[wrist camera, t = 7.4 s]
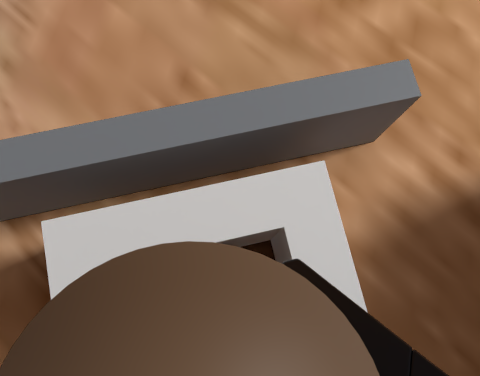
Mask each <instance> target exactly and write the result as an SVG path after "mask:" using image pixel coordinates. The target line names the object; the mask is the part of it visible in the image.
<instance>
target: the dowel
mask: <svg viewBox="0 0 480 376" xmlns="http://www.w3.org/2000/svg"><path fill="white" fill-rule="evenodd" d="M0 376H380V375H379V373H378V371H377V368H376V366H375V363H374V361H373V359H372V357H371V355H370V354H369V352H368V350H367V348H366V347H365V345H364V343H363V341H362V339H361V338H360V336H359V334H358V333H357V332H356V330H355V329H354V328H353V326H352V325H351V324H350V322H349V321H348V319H347V318H346V317H345V315H344V314H343V313H342V312H341V311H340V310H339V309H338V308H337V306H336V305H335V304H334V303H333V302H332V301H331V300H330V299H329V298H328V297H327V296H326V295H325V294H324V293H323V292H322V291H320V290H319V289H318V288H317V287H316V286H314V285H313V284H312V283H311V282H309V281H308V280H307V279H306V278H305V277H303V276H301V275H300V274H298V273H297V272H295V271H293V270H292V269H290V268H289V267H287V266H285V265H284V264H282V263H280V262H277V261H275V260H273V259H271V258H269V257H267V256H264V255H262V254H260V253H257V252H253V251H250V250H247V249H244V248H241V247H237V246H232V245H226V244H220V243H214V242H194V241H185V242H174V243H163V244H158V245H154V246H150V247H145V248H141V249H137V250H134V251H131V252H129V253H126V254H123V255H120V256H118V257H115V258H113V259H111V260H109V261H107V262H105V263H103V264H101V265H99V266H97V267H95V268H93V269H91V270H89V271H88V272H87V273H85V274H84V275H82V276H81V277H79V278H78V279H76V280H75V281H73V282H72V283H70V284H69V285H68V286H66V287H65V288H64V289H63V290H62V291H61V292H59V293H58V294H57V295H56V296H55V297H54V298H53V299H51V300H50V301H49V302H48V303H47V304H46V305H45V306H44V307H43V308H42V309H41V311H40V312H39V313H38V314H37V315H36V316H35V317H34V318H33V319H32V321H31V322H30V323H29V324H28V325H27V326H26V328H25V329H24V331H23V332H22V333H21V335H20V336H19V338H18V339H17V340H16V342H15V343H14V345H13V346H12V347H11V349H10V351H9V353H8V355H7V356H6V358H5V360H4V362H3V364H2V365H1V367H0Z"/></svg>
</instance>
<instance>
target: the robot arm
mask: <svg viewBox="0 0 480 376" xmlns="http://www.w3.org/2000/svg"><path fill="white" fill-rule="evenodd" d="M282 264H284V265H285V266H287V267H289V268H290V269H292V270H293V271H295V272H297V273H298V274H300V275H301V276H303V277H305V278H306V279H307V280H308V281H309V282H311V283H312V284H313V285H314V286H316V287H317V288H318V289H319V290H320V291H322V292H323V293H324V294H325V295H326V296H327V297H328V298H329V299H330V300H331V301H332V302H333V303H334V304H335V305H336V306H337V308H338V309H339V310H340V311H341V312H342V313H343V314H344V315H345V317H346V318H347V319H348V321H349V322H350V324H351V325H352V326H353V328H354V329H355V330H356V332H357V333H358V334H359V336H360V338H361V339H362V341H363V343H364V345H365V347H366V348H367V350H368V352H369V354H370V355H371V357H372V359H373V361H374V363H375V366H376V368H377V371H378V373H379V375H380V376H449V375H447V374H446V373H445V372H443V371H442V370H441V369H439V368H438V367H437V366H435V365H434V364H433V363H431V362H430V361H429V360H427V359H426V358H425V357H424V356H422V355H421V354H420V353H419V352H417V351H416V350H413V351H412V347H411V346H409V345H408V344H407V343H406V342H404V341H403V340H402V339H401V338H399V337H398V336H397V335H395V334H394V333H393V332H392V331H390V330H389V329H388V328H387V327H385V326H384V325H383V324H381V323H380V322H379V321H378V320H376V319H375V318H374V317H373V316H371V315H370V314H369V313H367V312H366V311H365V310H364V309H362V308H361V307H360V306H359V305H357V304H356V303H355V302H353V301H352V300H351V299H350V298H348V297H347V296H346V295H345V294H343V293H342V292H341V291H339V290H338V289H337V288H336V287H334V286H333V285H332V284H331V283H329V282H328V281H327V280H325V279H324V278H323V277H322V276H320V275H319V274H318V273H317V272H315V271H314V270H313V269H311V268H310V267H309V266H308V265H306V264H305V263H304V262H303V261H301V260H300V259H297V258H296V259H291V260H287V261H283V262H282Z"/></svg>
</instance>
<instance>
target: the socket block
mask: <svg viewBox="0 0 480 376" xmlns="http://www.w3.org/2000/svg"><path fill="white" fill-rule="evenodd" d="M41 225H42V232H43V240H44V248H45V256H46V264H47V272H48V280H49V288H50V296H51V299H53V298H54V297H55V296H56V295H57V294H58V293H59V292H61V291H62V290H63V289H64V288H65V287H66V286H68V285H69V284H70V283H72V282H73V281H75V280H76V279H78V278H79V277H81V276H82V275H84V274H85V273H87V272H88V271H89V270H91V269H93V268H95V267H97V266H99V265H101V264H103V263H105V262H107V261H109V260H111V259H113V258H115V257H118V256H120V255H123V254H126V253H129V252H131V251H134V250H137V249H141V248H145V247H150V246H154V245H158V244H163V243H174V242H185V241H194V242H214V243H220V244H226V245H232V246H237V247H242V246H247V245H251V244H255V243H260V242H264V241H268V240H271V244H272V248H273V252H274V256H275V260H276V261H277V262H280V263H282V262H283V261H287V260H291V259H296V258H297V259H300V260H301V261H303V262H304V263H305V264H306V265H308V266H309V267H310V268H311V269H313V270H314V271H315V272H317V273H318V274H319V275H320V276H322V277H323V278H324V279H325V280H327V281H328V282H329V283H331V284H332V285H333V286H334V287H336V288H337V289H338V290H339V291H341V292H342V293H343V294H345V295H346V296H347V297H348V298H350V299H351V300H352V301H353V302H355V303H356V304H357V305H359V306H360V307H361V308H362V309H364V310H365V311H366V312H367V309H366V305H365V302H364V298H363V295H362V291H361V288H360V284H359V280H358V277H357V273H356V270H355V266H354V263H353V259H352V256H351V252H350V249H349V245H348V242H347V238H346V235H345V231H344V228H343V224H342V221H341V217H340V214H339V210H338V207H337V203H336V200H335V196H334V193H333V189H332V186H331V182H330V178H329V175H328V171H327V168H326V164H325V161H319V162H314V163H310V164H305V165H300V166H296V167H291V168H286V169H282V170H277V171H273V172H268V173H263V174H259V175H254V176H249V177H245V178H240V179H235V180H231V181H226V182H221V183H217V184H212V185H208V186H203V187H198V188H194V189H189V190H184V191H180V192H175V193H170V194H166V195H161V196H156V197H152V198H147V199H143V200H138V201H133V202H129V203H124V204H119V205H115V206H110V207H105V208H101V209H96V210H91V211H87V212H82V213H78V214H73V215H68V216H64V217H59V218H54V219H50V220H45V221H41ZM367 313H368V312H367Z"/></svg>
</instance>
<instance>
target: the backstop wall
mask: <svg viewBox="0 0 480 376" xmlns="http://www.w3.org/2000/svg"><path fill="white" fill-rule="evenodd" d="M420 97H421V93H420V90H419V87H418V85H417V82H416V79H415V76H414V73H413V70H412V67H411V64H410V62H409V59H407V60H402V61H397V62H391V63H386V64H381V65H376V66H371V67H366V68H361V69H356V70H351V71H346V72H341V73H336V74H331V75H326V76H321V77H316V78H311V79H306V80H301V81H296V82H291V83H286V84H281V85H276V86H271V87H266V88H261V89H256V90H251V91H245V92H240V93H235V94H230V95H225V96H220V97H215V98H210V99H205V100H200V101H195V102H190V103H185V104H180V105H175V106H170V107H165V108H160V109H155V110H150V111H145V112H140V113H135V114H130V115H125V116H120V117H115V118H110V119H104V120H99V121H94V122H89V123H84V124H79V125H74V126H69V127H64V128H59V129H54V130H49V131H44V132H39V133H34V134H29V135H24V136H19V137H14V138H9V139H4V140H0V221H4V220H9V219H13V218H18V217H23V216H27V215H32V214H37V213H41V212H46V211H51V210H55V209H60V208H65V207H69V206H74V205H79V204H83V203H88V202H93V201H97V200H102V199H107V198H111V197H116V196H121V195H126V194H130V193H135V192H140V191H144V190H149V189H154V188H158V187H163V186H168V185H172V184H177V183H182V182H186V181H191V180H196V179H200V178H205V177H210V176H214V175H219V174H224V173H228V172H233V171H238V170H242V169H247V168H252V167H257V166H261V165H266V164H271V163H275V162H280V161H285V160H289V159H294V158H299V157H303V156H308V155H313V154H317V153H322V152H327V151H331V150H336V149H341V148H345V147H350V146H355V145H359V144H364V143H369V142H373V141H375V140H376V139H377V138H378V137H379V136H380V135H381V134H382V133H383V132H384V131H385V130H386V129H387V128H388V127H389V126H390V125H391V124H392V123H393V122H395V121H396V120H397V119H398V118H399V117H400V116H401V115H402V114H403V113H404V112H405V111H406V110H407V109H408V108H409V107H410V106H411V105H412V104H413V103H414V102H415V101H416V100H417V99H418V98H420Z"/></svg>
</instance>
